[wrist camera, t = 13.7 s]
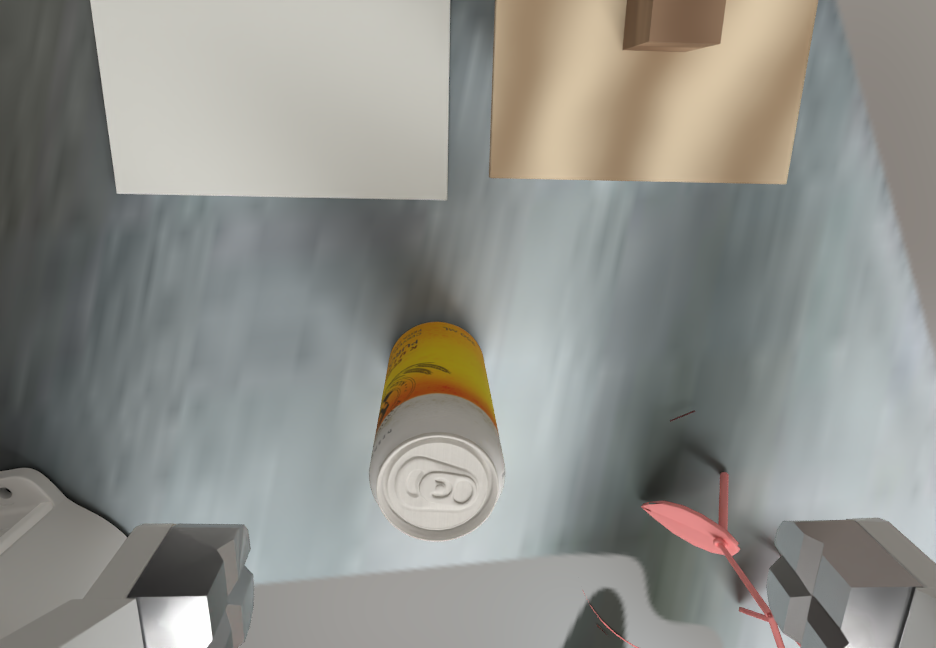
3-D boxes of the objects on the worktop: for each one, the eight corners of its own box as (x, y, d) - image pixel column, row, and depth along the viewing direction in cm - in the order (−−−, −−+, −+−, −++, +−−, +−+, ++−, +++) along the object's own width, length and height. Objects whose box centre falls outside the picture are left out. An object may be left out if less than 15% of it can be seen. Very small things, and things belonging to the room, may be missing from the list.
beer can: (398, 309, 41) (380, 414, 27) (492, 327, 42) (523, 439, 27) (381, 395, 43) (355, 537, 29) (471, 412, 44) (490, 558, 29)
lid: (489, 176, 33) (497, 186, 28) (501, -178, 28) (514, -233, 24) (778, 182, 34) (832, 193, 29) (836, -161, 29) (911, -211, 24)
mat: (120, 192, 38) (117, 193, 38) (67, -198, 32) (62, -203, 32) (446, 199, 39) (447, 200, 39) (452, -179, 33) (453, -182, 33)
